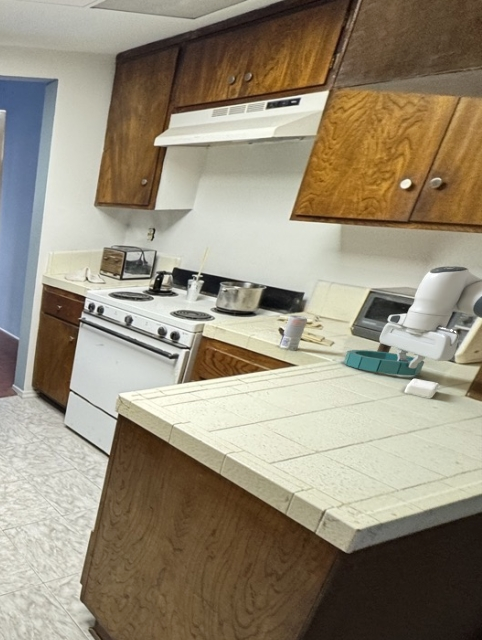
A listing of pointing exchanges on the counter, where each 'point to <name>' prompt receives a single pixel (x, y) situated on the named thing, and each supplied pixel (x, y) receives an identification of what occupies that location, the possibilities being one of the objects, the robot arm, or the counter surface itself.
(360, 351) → the ring
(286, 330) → the energy drink
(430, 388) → the soap
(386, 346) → the peg stand
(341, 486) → the counter surface
